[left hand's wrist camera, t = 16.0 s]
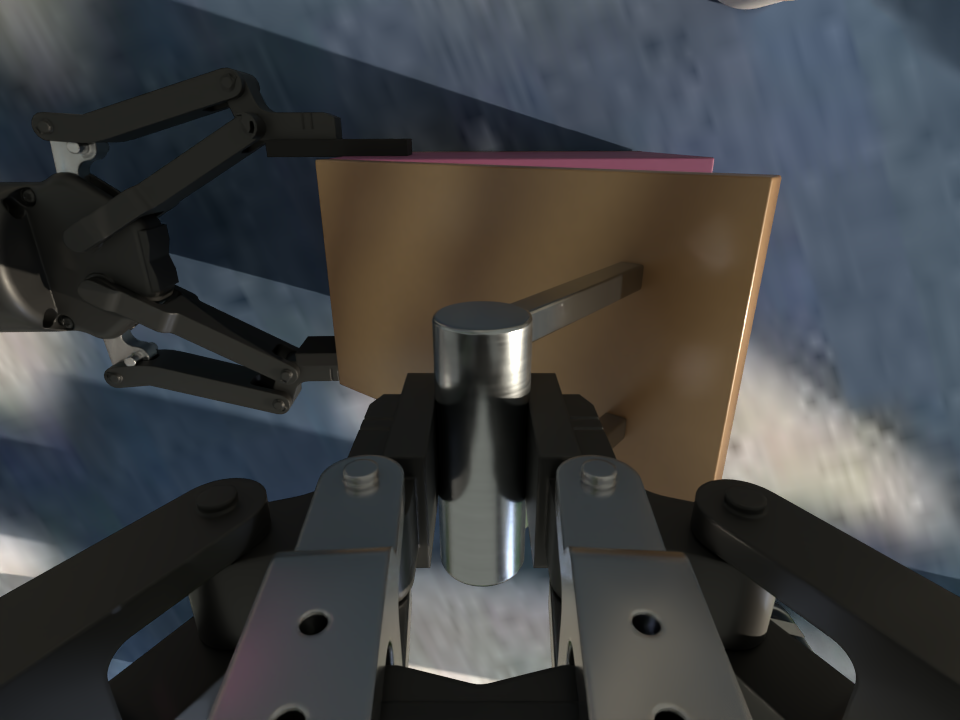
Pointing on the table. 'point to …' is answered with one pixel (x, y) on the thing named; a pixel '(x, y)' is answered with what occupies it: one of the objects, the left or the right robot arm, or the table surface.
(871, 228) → the table surface
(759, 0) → the coffee cup
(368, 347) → the lid
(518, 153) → the chest
